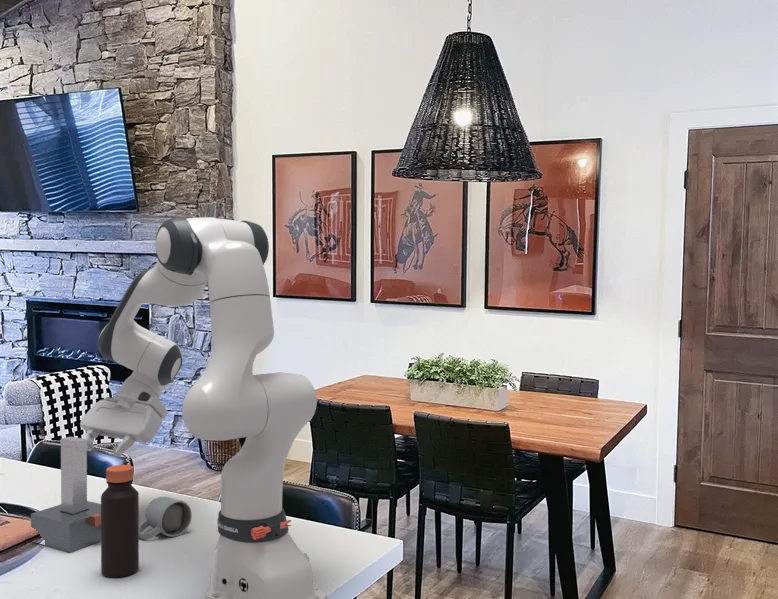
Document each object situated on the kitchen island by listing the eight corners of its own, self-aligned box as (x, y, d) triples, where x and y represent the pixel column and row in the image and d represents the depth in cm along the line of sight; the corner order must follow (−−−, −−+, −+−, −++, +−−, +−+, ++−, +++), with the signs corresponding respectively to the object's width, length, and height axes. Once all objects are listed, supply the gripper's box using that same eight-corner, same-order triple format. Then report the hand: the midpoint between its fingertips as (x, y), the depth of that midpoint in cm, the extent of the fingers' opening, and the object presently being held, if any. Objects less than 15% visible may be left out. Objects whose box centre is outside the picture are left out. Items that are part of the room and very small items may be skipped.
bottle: (122, 561, 153) (122, 461, 152) (146, 569, 149) (146, 466, 148) (93, 573, 147) (92, 469, 146) (117, 581, 143) (117, 474, 142)
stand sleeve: (121, 536, 167) (121, 508, 166) (75, 554, 156) (74, 524, 156) (78, 525, 173) (78, 497, 173) (31, 541, 163) (30, 512, 162)
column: (89, 538, 165) (89, 438, 164) (75, 543, 162) (74, 442, 161) (73, 533, 168) (72, 435, 167) (58, 538, 165) (58, 439, 164)
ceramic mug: (172, 523, 175) (171, 489, 175) (192, 532, 170) (192, 497, 169) (129, 535, 168) (128, 500, 167) (148, 545, 162) (148, 509, 162)
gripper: (95, 388, 181) (60, 438, 173) (159, 397, 171) (125, 450, 163) (110, 404, 185) (76, 453, 177) (174, 413, 175) (141, 466, 167)
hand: (100, 452), depth 170 cm, fingers open, 8 cm apart
